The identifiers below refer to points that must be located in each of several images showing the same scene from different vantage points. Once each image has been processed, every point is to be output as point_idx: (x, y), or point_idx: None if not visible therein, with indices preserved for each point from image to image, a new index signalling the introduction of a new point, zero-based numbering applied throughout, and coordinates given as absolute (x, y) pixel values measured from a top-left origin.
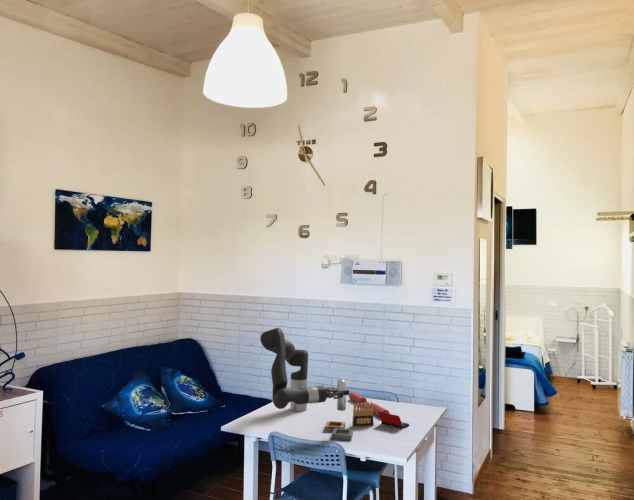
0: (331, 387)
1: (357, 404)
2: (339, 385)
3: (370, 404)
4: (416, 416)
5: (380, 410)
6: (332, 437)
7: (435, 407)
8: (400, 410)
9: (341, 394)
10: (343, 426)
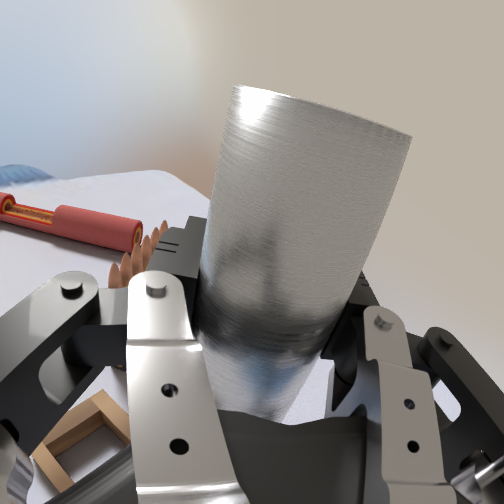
0: (39, 304)
1: (125, 267)
2: (361, 233)
3: (160, 236)
4: (176, 207)
5: (117, 228)
6: None
7: (153, 171)
8: (113, 200)
9: (438, 380)
10: None
